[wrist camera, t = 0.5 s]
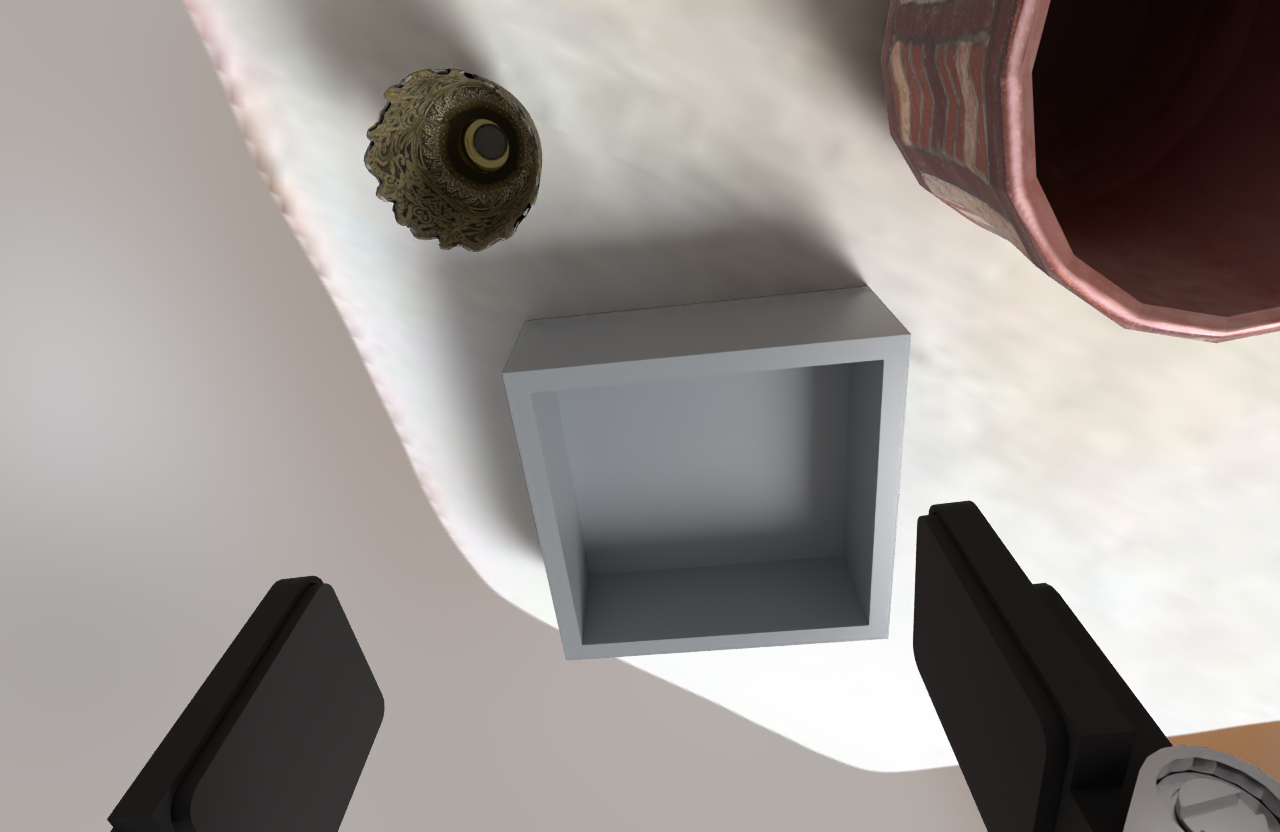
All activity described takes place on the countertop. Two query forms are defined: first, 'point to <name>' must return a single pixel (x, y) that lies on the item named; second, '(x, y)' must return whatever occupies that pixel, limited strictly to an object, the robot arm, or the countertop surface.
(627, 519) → the crate
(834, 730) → the countertop surface
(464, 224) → the brown patterned lamp shade
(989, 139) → the pottery
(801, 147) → the countertop surface
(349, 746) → the robot arm
